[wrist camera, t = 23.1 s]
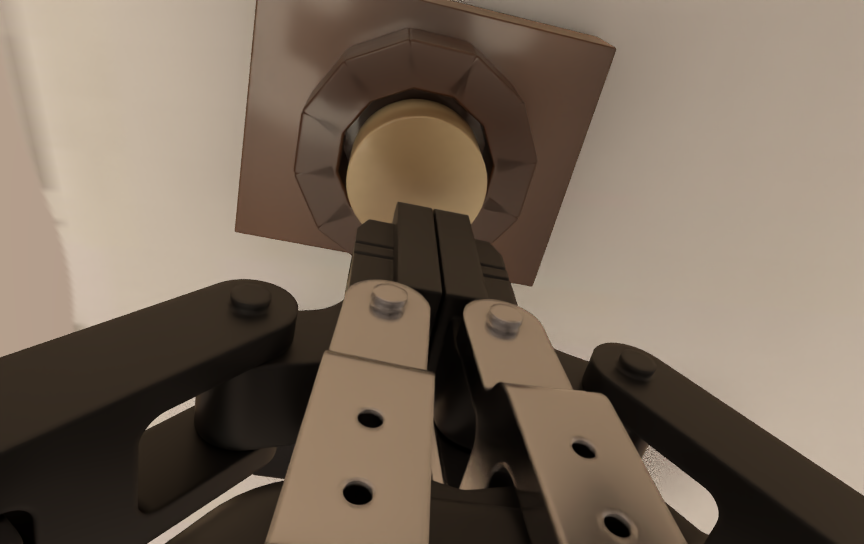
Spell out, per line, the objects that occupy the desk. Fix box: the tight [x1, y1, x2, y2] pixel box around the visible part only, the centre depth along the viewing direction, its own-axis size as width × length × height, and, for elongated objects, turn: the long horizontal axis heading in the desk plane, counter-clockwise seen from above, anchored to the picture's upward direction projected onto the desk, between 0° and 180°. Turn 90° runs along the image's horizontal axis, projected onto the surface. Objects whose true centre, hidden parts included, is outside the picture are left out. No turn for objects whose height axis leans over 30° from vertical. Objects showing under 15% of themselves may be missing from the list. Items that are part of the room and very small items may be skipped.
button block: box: [235, 0, 616, 286], centre depth 19 cm, size 10×8×4 cm
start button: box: [346, 99, 487, 224], centre depth 17 cm, size 4×4×2 cm
